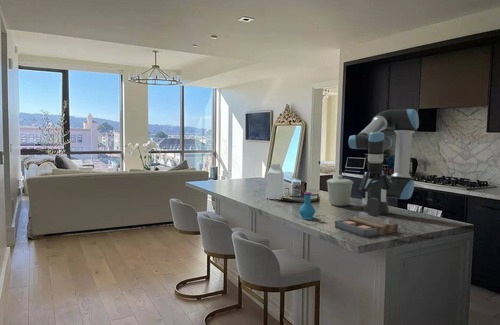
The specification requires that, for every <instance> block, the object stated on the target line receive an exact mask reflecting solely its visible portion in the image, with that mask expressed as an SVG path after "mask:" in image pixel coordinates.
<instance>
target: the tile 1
mask: <svg viewBox="0 0 500 325" xmlns="http://www.w3.org/2000/svg"><path fill="white" fill-rule="evenodd" d="M342 223H345V224H348V225H352V226H355V227H356V223H355V222H352V221H344V222H342Z"/></svg>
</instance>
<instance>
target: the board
mask: <svg viewBox="0 0 500 325" xmlns="http://www.w3.org/2000/svg"><path fill="white" fill-rule="evenodd" d="M347 220H348V221H352V222H355V223H356V227H357V226H362V225H365V226H369V227H372V229H373V228H377V236H379V235H386V234H392V233H393V232H394V233H398V231H399V230H398V229H399V224H398V223H395V222H393V221H389V225H381V224H378V223H374V222H371V221H367V220H364V219H360V218H358V217H352V218H347Z"/></svg>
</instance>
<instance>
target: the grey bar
mask: <svg viewBox="0 0 500 325" xmlns="http://www.w3.org/2000/svg"><path fill="white" fill-rule="evenodd" d="M378 211H379V199H377V198H369V210H368V213H366V212H364V211H359V212H358V217H357V218H360V219H364V220H367V221H371V222H374V223H378V224H381V225H389V222H390V219H389V218H387V217H382V216H381V215H378Z"/></svg>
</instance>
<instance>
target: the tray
mask: <svg viewBox="0 0 500 325" xmlns="http://www.w3.org/2000/svg"><path fill="white" fill-rule="evenodd" d="M344 221H348V219H341V220H335V221H334V228H336V229H338V230H341V231H344V232H347V233H350V234H353V235H355V236H360V237H361V238H370V237H377V236H378V235H377V228H373V229H366V230H364V229H361V228H358V227H355V226H352V225H348V224H345V223H342V222H344Z"/></svg>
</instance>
